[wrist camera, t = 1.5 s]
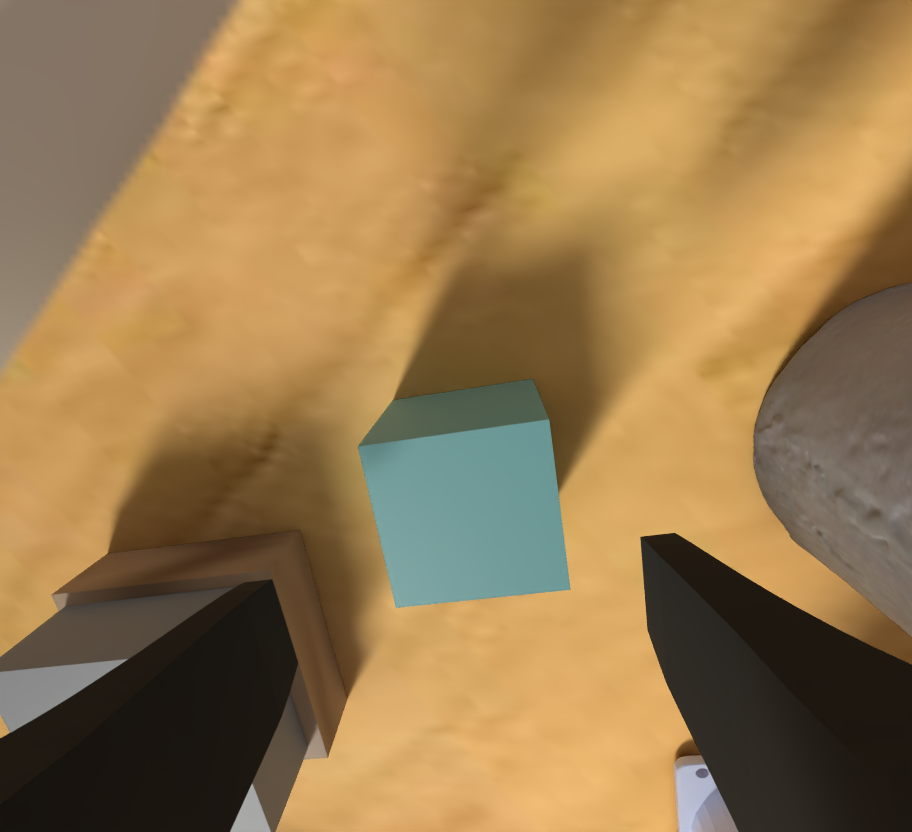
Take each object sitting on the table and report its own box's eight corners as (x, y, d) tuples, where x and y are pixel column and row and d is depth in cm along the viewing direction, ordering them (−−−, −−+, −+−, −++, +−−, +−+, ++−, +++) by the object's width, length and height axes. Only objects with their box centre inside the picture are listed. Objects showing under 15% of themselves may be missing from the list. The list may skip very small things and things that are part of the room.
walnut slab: (303, 525, 19) (270, 569, 16) (349, 691, 21) (327, 757, 18) (114, 548, 20) (51, 594, 17) (177, 706, 22) (130, 771, 19)
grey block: (253, 584, 16) (202, 651, 13) (308, 747, 18) (273, 837, 15) (65, 606, 17) (-22, 674, 14) (135, 760, 19) (71, 847, 16)
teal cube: (532, 378, 16) (549, 419, 12) (549, 507, 18) (570, 589, 13) (393, 399, 17) (357, 446, 12) (419, 523, 18) (395, 607, 14)
